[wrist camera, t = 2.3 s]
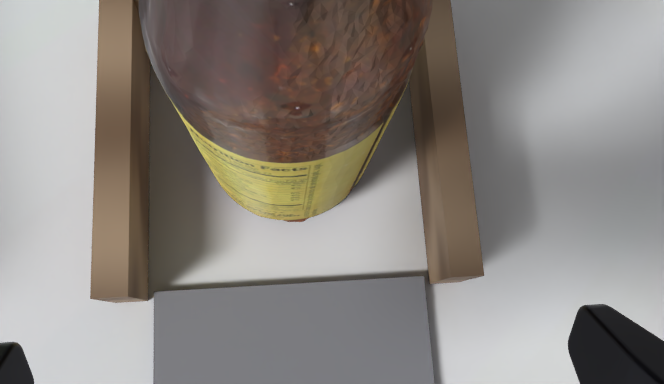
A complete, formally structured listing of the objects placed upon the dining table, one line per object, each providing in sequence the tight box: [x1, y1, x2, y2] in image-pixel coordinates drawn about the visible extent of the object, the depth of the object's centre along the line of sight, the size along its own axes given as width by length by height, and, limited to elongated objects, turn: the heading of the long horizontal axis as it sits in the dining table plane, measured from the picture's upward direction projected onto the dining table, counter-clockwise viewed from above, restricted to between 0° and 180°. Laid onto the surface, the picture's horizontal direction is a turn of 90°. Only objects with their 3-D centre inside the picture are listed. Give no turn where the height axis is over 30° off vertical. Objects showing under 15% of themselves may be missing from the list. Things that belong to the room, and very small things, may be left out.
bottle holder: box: [90, 0, 484, 303], centre depth 22 cm, size 12×13×3 cm
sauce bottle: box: [139, 0, 433, 222], centre depth 14 cm, size 7×6×20 cm
